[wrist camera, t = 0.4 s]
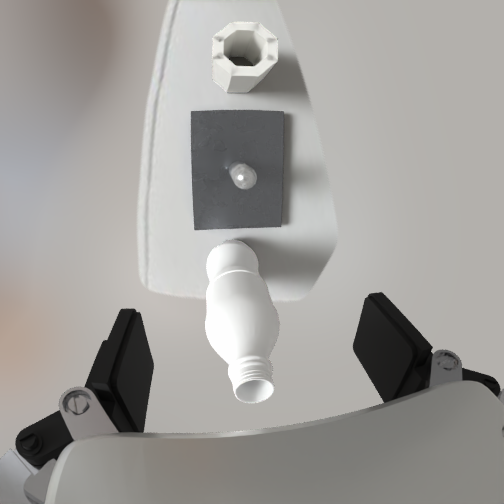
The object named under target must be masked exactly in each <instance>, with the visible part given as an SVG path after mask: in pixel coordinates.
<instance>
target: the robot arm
mask: <svg viewBox="0 0 504 504" xmlns="http://www.w3.org/2000/svg"><path fill="white" fill-rule="evenodd" d="M432 348H433V347H432V346H431V345H430V343H429V342H428V341H427V340H426V339H425V338H424V337H423V336H422V334H421V333H420V332H419V331H418V330H417V329H416V328H415V327H414V326H413V325H412V323H411V322H410V321H409V320H408V319H407V318H406V317H405V316H404V315H403V314H402V313H401V312H400V311H399V309H397V307H396V306H395V305H394V304H393V303H392V302H391V301H390V300H389V299H388V298H387V297H386V296H385V295H384V294H383V293H382V292H380V293H371V294H369V295H368V297H367V298H365V301H364V305H363V309H362V313H361V317H360V321H359V325H358V328H357V332H356V336H355V339H354V343H353V350H354V352H355V354H356V356H357V358H358V359H359V361H360V362H361V364H362V366H363V368H364V369H365V371H366V373H367V374H368V376H369V378H370V379H371V381H372V383H373V384H374V386H375V388H376V390H377V391H378V393H379V395H380V396H381V398H382V400H383V402H384V403H383V404H379V405H376V406H373V407H369V408H366V409H362V410H358V411H354V412H351V413H347V414H343V415H338V416H335V417H329V418H325V419H320V420H315V421H310V422H304V423H299V424H293V425H287V426H280V427H273V428H264V429H256V430H246V431H235V432H234V431H233V432H218V433H217V432H216V433H143V432H144V426H145V419H146V411H147V405H148V399H149V393H150V386H151V381H152V374H153V369H154V363H153V359H152V355H151V352H150V348H149V345H148V341H147V337H146V333H145V329H144V325H143V321H142V317H141V314H140V312H136V310H135V309H121V310H120V312H119V314H118V316H117V319H116V321H115V323H114V326H113V328H112V330H111V333H110V335H109V337H108V340H105V341H103V342H102V344H101V347H100V349H99V351H98V354H97V356H96V359H95V361H94V364H93V366H92V369H91V372H90V374H89V376H88V379H87V382H86V384H85V387H74V388H70V389H69V390H67V391H66V392H64V393H63V394H62V396H61V398H60V400H59V409H60V410H59V411H57V412H55V413H53V414H51V415H49V416H48V417H46V418H44V419H42V420H40V421H38V422H36V423H35V424H32V425H31V426H28V427H26V428H25V429H23V430H22V431H20V433H19V434H18V436H17V438H16V449H15V450H14V451H12V449H10V450H9V451H7V453H5V454H4V456H2V457H1V458H0V504H504V389H502V391H500V386H499V384H498V382H497V381H496V379H495V378H493V377H491V376H489V375H485V374H481V373H478V372H475V371H471V370H468V369H464V368H462V363H461V360H460V358H459V357H458V356H457V355H456V354H455V353H453V352H451V351H448V350H438V351H436V352H435V353H434V354H433V353H432V352H431V350H432Z"/></svg>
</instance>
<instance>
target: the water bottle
mask: <svg viewBox="0 0 504 504" xmlns="http://www.w3.org/2000/svg"><path fill="white" fill-rule="evenodd" d="M258 268H259V263H258V259H257V257H256V254H255V253H254V251H253V250H252V249H251V248H250V247H249V246H247V245H246V244H245V243H243V242H242V241H239V240H226V241H224V242H223V243H221V244H220V245H219V246H216V247H214V248H213V249H212V251H211V252H210V254H209V256H208V260H207V275H208V277H209V280H210V284H209V286H208V288H207V292H206V301H207V317H206V320H205V328H206V334H207V337H208V340H209V342H210V344H211V346H212V347H213V348H214V350H215V351H216V352H217V353H218V354H219V355H220V356H221V357H222V358H223V359H224V360H225V361H226V362H227V363H228V364H229V368H228V375H229V377H230V379H231V382H232V383H233V390H234V394H235V396H236V398H237V399H239V400H240V401H242V402H246V403H257V402H261V401H264V400H265V399H267V398H269V397H270V396H271V395H272V394H273V391H274V384H273V379H272V371H273V366H272V363H271V361H270V360H269V356H270V354H271V352H272V350H273V348H274V346H275V343H276V341H277V338H278V334H279V326H280V323H279V317H278V313H277V310H276V309H275V307H274V306H273V303H272V300H271V297H270V295H269V291H268V287H267V285H266V283H265V281H264V280H263V279H262V277H261V276H260V275H259V272H258Z"/></svg>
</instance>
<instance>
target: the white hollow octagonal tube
mask: <svg viewBox="0 0 504 504" xmlns="http://www.w3.org/2000/svg"><path fill="white" fill-rule="evenodd" d="M230 57H245V58H246V59H247V60H249V61H250V62H251V63H252V64H253V65H254V66H236V65H234V64H233V63H232V62H231V61H230V60H229V59H228V58H230ZM277 62H278V39H277V38H276V37H275V36H274V35H273V34H272V33H271V32H269V31H268V30H267V29H266V28H265V27H264V26H262V25H261V24H260V23H255V22H231V23H230V24H229V25H227V26H226V27H225V28H223V29H222V30H221V31H219V32H218V33H217V34H216V35H214V36H213V49H212V80H213V81H214V82H216V83H217V84H218V85H219V86H220V87H221V88H222V89H223V90H224V91H226V92H227V93H248V92H249V91H250V90H251V89H252V88H253V87H255V86H256V85H257V84H258V83H259V82H260V81H262V80H263V78H264V77H265V76H266V75H267V74H268V72H269V71H270V70H271V69H272V67H273V66H274V65H275V64H276V63H277Z"/></svg>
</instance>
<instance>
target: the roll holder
mask: <svg viewBox="0 0 504 504" xmlns="http://www.w3.org/2000/svg"><path fill="white" fill-rule="evenodd" d="M283 148H284V111H262V110H212V111H191V161H192V191H193V212H194V229H195V230H208V229H233V228H261V227H281V221H282V191H283Z"/></svg>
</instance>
